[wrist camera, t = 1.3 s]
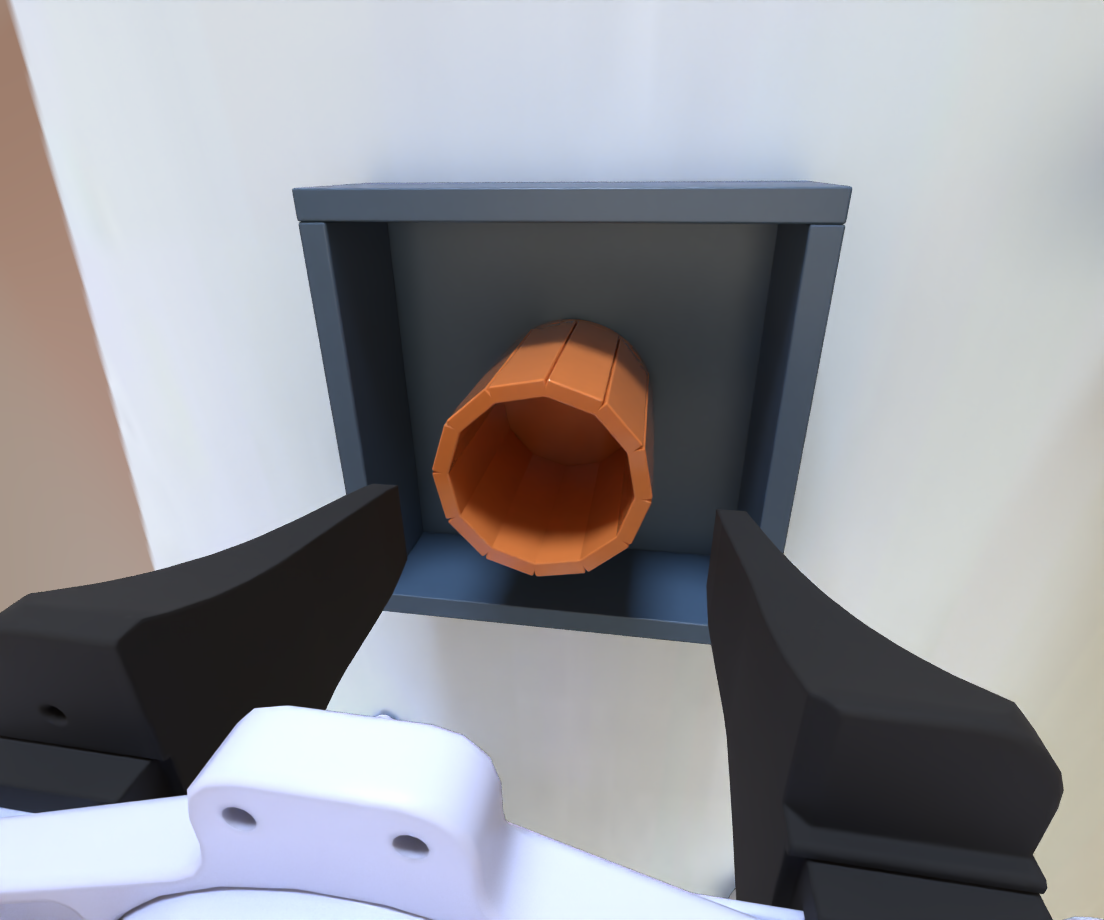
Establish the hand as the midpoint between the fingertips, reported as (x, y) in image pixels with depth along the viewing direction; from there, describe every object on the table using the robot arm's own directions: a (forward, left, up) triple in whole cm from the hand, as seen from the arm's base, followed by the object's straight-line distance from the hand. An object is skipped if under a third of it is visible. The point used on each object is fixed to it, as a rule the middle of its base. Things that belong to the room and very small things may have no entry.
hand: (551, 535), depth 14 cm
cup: (0, 0, -8) cm, 8 cm away
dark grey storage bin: (0, 0, -9) cm, 9 cm away
